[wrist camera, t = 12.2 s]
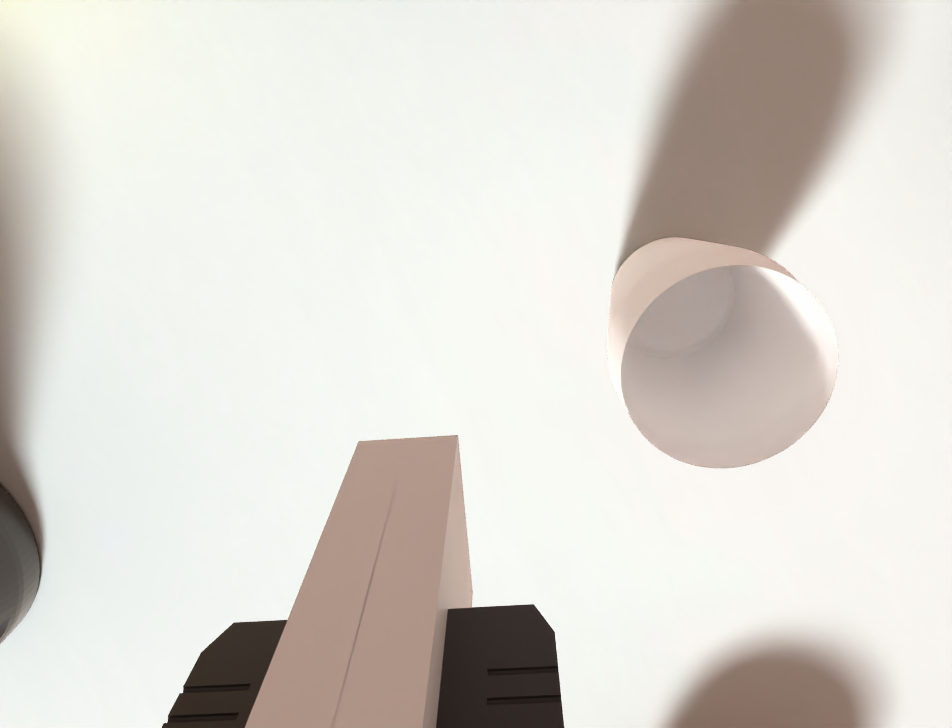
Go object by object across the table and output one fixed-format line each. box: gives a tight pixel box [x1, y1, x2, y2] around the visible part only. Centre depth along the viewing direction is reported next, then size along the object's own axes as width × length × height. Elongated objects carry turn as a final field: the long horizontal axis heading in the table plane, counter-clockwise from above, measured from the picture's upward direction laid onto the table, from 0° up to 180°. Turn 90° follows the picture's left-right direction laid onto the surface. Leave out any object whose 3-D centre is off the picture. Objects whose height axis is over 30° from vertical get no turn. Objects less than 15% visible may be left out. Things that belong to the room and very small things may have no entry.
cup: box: [607, 237, 839, 468], centre depth 39 cm, size 9×9×12 cm
